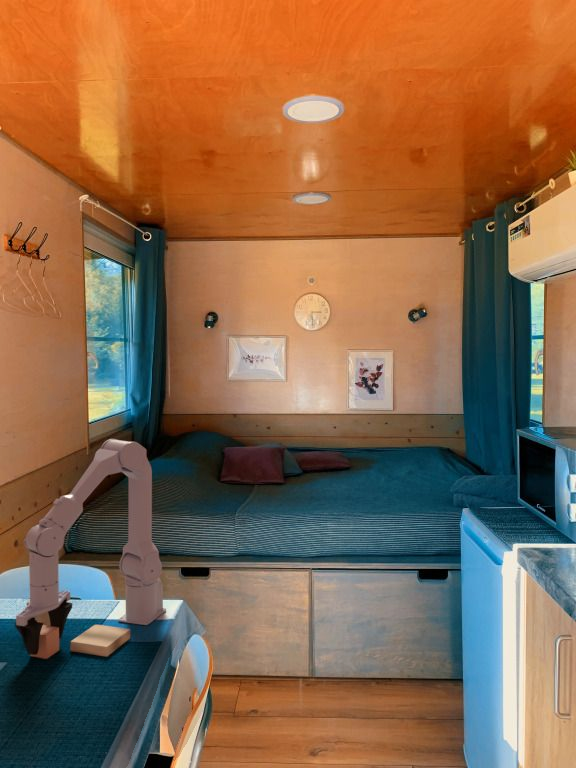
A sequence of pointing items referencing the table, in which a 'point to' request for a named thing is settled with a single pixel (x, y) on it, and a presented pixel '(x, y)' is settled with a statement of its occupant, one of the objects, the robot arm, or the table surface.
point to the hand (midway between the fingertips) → (45, 645)
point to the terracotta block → (48, 642)
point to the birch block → (100, 640)
